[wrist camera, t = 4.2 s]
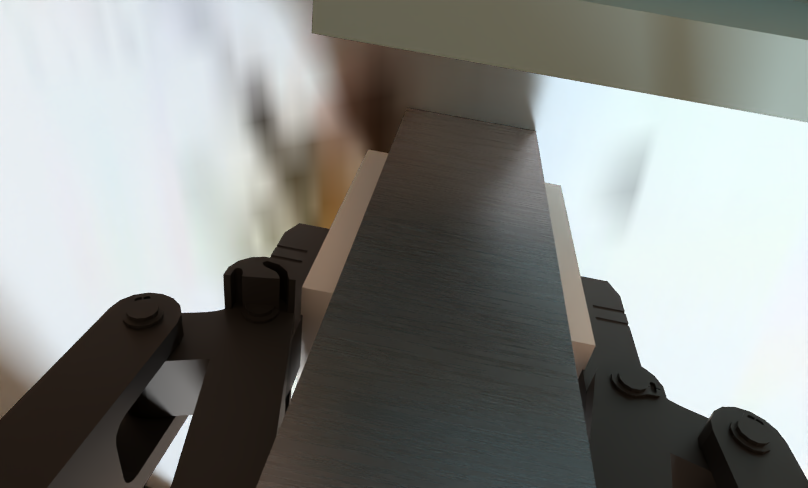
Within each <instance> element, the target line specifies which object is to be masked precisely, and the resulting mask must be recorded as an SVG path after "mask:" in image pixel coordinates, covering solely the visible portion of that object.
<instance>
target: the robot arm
mask: <svg viewBox="0 0 808 488" xmlns="http://www.w3.org/2000/svg"><path fill="white" fill-rule="evenodd" d="M388 154H389V153H384V152H378V151H373V150H368V151H367V153H366V155H365V157H364V159H363V161H362V164H361V166H360V168H359V170H358V172H357V174H356V176H355V178H354V180H353V182H352V184H351V186H350V188H349V191H348V193H347V195H346V197H345V199H344V201H343V203H342V205H341V207H340V209H339V211H338V213H337V215H336V218H335V220H334V222H333V224H332V226H331V228H330V229H326V228H321V227H316V226H311V225H306V224H300V223H299V224H298V225H296V226H294V227H293V228H291V229H290V230H288V231H286V232H285V233H284V235H283V236H282V238H281V240H280V241H279V243H278V245H277V247H276V248H275V250H274V251H273V253H272V254H271V257H270V258H268V257H251V258H247V259H244V260H240V261H238V262H236V263H234V264H233V265H231V266H230V267H228V269H227V270H226V272H225V273H224V275H223V276H224V297H225V309H223V310H219V311H213V312H200V313H181V308H180V305H179V304H178V303H177V302H176V301H175V300H174V299H173V298H171V297H169V296H166V295H164V294H157V293H144V294H137V295H132V296H130V297H127V298H125V299H122V300H120V301H119V302H117V303H116V304H114V305H113V306H112V307H110V308H109V309H108V310H107V311H106V312H105V313H104V314H103V315H102V316H101V317H100V318H99V320H98V321H97V322H96V323H95V324H94V325H93V326H92V327H91V328H90V329H89V330H88V331H87V332H86V333H85V334H84V335H83V336H82V337H81V338H80V339H79V340H78V341H77V342H76V343H75V344H74V345H73V346H72V347H71V348H70V349H69V350H68V351H67V352H66V353H65V354H64V355H63V356H62V357H61V358H60V359H59V360H58V361H57V362H56V363H55V364H54V365H53V366H52V367H51V368H50V369H49V370H48V372H47V373H46V374H45V375H44V376H43V377H42V378H41V379H40V380H39V381H38V382H37V383H36V384H35V385H34V386H33V387H32V388H31V389H30V390H29V391H28V392H27V393H26V394H25V395H24V396H23V397H22V398H21V399H20V400H19V401H18V402H17V403H16V404H15V405H14V406H13V407H12V408H11V409H10V410H9V411H8V412H7V413H6V414H5V415H4V416H3V417H2V418H1V419H0V488H143V487H144V485H145V484H146V482H147V481H148V479H149V477H150V476H151V474H152V473H153V471H154V469H155V468H156V466H157V465H158V463H159V461H160V460H161V458H162V457H163V455H164V454H165V452H166V450H167V449H168V447H169V446H170V444H171V442H172V441H173V439H174V438H175V436H176V435H177V433H178V431H179V430H180V428H181V427H182V425H183V423H184V422H185V420H186V419H187V417H188V415H193V416H192V420H191V423H190V426H189V430H188V433H187V436H186V439H185V443H184V446H183V449H182V453H181V456H180V459H179V463H178V466H177V469H176V472H175V476H174V479H173V482H172V486H171V488H256V486H257V484H258V481H259V479H260V476H261V474H262V471H263V469H264V466H265V464H266V461H267V459H268V456H269V454H270V451H271V449H272V446H273V444H274V441H275V439H276V436H277V433H278V431H279V428H280V426H281V423H282V421H283V418H284V416H285V413H286V411H287V408H288V406H289V403H290V401H291V388H292V385H293V383H294V380H295V378H296V375H297V373H298V378H297V383H298V381H299V378H300V376H301V373H302V370H303V368H304V365H305V363H306V360H307V358H308V355H309V353H310V350H311V348H312V345H313V343H314V340H315V338H316V335H317V333H318V330H319V328H320V325H321V323H322V320H323V318H324V315H325V313H326V310H327V308H328V305H329V302H330V300H331V297H332V295H333V292H334V290H335V287H336V285H337V282H338V280H339V277H340V275H341V272H342V270H343V267H344V265H345V262H346V260H347V257H348V255H349V252H350V250H351V247H352V245H353V242H354V239H355V237H356V234H357V232H358V229H359V227H360V224H361V222H362V219H363V217H364V214H365V212H366V209H367V207H368V204H369V202H370V199H371V197H372V194H373V192H374V189H375V187H376V184H377V182H378V179H379V176H380V174H381V171H382V169H383V166H384V164H385V161H386V159H387V156H388ZM545 188H546V194H547V200H548V206H549V212H550V218H551V224H552V230H553V235H554V241H555V247H556V253H557V259H558V265H559V271H560V277H561V283H562V289H563V295H564V300H565V306H566V312H567V318H568V324H569V330H570V336H571V342H572V348H573V354H574V360H575V365H576V371H577V377H578V383H579V389H580V395H581V401H582V407H583V413H584V419H585V424H586V430H587V436H588V442H589V448H590V454H591V460H592V466H593V472H594V478H595V484H596V488H808V480H807V478H806V476H805V475H804V473H803V471H802V469H801V468H800V466H799V464H798V462H797V460H796V459H795V457H794V455H793V453H792V452H791V450H790V448H789V446H788V444H787V443H786V441H785V440H784V439H783V437H782V436H781V435H780V434H779V432H778V431H777V430H776V429H775V428H774V427H772V426H771V425H770V424H769V423H768V422H766V421H765V420H764V419H762V418H760V417H758V416H757V415H755V414H753V413H751V412H749V411H746V410H743V409H740V408H736V407H721V408H719V409H717V410H715V411H714V412H713V413H712V415H711V416H710V418H706V417H704V416H702V415H700V414H697V413H695V412H693V411H690V410H688V409H686V408H684V407H681V406H679V405H677V404H676V403H674V402H672V401H670V400H668V399H667V398H666V395H665V392H664V388H663V386H662V385H661V384H660V382H659V381H658V380H657V379H656V377H655V376H654V375H652V374H651V373H650V372H648V371H647V370H646V369H644V368H643V367H641V364H640V360H639V357H638V354H637V351H636V347H635V344H634V341H633V337H632V334H631V331H630V328H629V326H628V321H627V318H626V314H624V308H623V304H622V301H621V298H620V296H619V294H618V293H617V292H616V291H615V290H614V289H613V287H612V286H611V285H610V284H609V283H608V281H602V280H597V279H592V278H587V277H582V276H580V272H579V267H578V263H577V258H576V254H575V249H574V244H573V240H572V235H571V231H570V226H569V221H568V217H567V212H566V208H565V203H564V198H563V194H562V189H561V186H560V185H554V184H549V183H545Z"/></svg>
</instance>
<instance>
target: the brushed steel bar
mask: <svg viewBox="0 0 808 488" xmlns="http://www.w3.org/2000/svg"><path fill="white" fill-rule="evenodd" d="M256 488H596V484H595V478H594V472H593V466H592V460H591V454H590V448H589V442H588V436H587V430H586V424H585V419H584V413H583V407H582V401H581V395H580V389H579V383H578V377H577V371H576V365H575V360H574V354H573V348H572V342H571V336H570V330H569V324H568V318H567V312H566V306H565V300H564V295H563V289H562V283H561V277H560V271H559V265H558V259H557V253H556V247H555V241H554V235H553V230H552V224H551V218H550V212H549V206H548V200H547V194H546V188H545V182H544V176H543V171H542V165H541V159H540V153H539V147H538V141H537V135H536V131H532V130H527V129H521V128H516V127H510V126H505V125H499V124H494V123H488V122H483V121H478V120H472V119H467V118H461V117H456V116H450V115H445V114H439V113H434V112H429V111H423V110H418V109H412V108H406V111H405V113H404V116H403V119H402V121H401V124H400V126H399V129H398V131H397V134H396V136H395V139H394V141H393V144H392V146H391V149H390V151H389V154H388V156H387V159H386V161H385V164H384V166H383V169H382V171H381V174H380V176H379V179H378V182H377V184H376V187H375V189H374V192H373V194H372V197H371V199H370V202H369V204H368V207H367V209H366V212H365V214H364V217H363V219H362V222H361V224H360V227H359V229H358V232H357V234H356V237H355V239H354V242H353V245H352V247H351V250H350V252H349V255H348V257H347V260H346V262H345V265H344V267H343V270H342V272H341V275H340V277H339V280H338V282H337V285H336V287H335V290H334V292H333V295H332V297H331V300H330V302H329V305H328V308H327V310H326V313H325V315H324V318H323V320H322V323H321V325H320V328H319V330H318V333H317V335H316V338H315V340H314V343H313V345H312V348H311V350H310V353H309V355H308V358H307V360H306V363H305V365H304V368H303V370H302V373H301V376H300V378H299V381H298V383H297V386H296V388H295V391H294V393H293V396H292V398H291V401H290V403H289V406H288V408H287V411H286V413H285V416H284V418H283V421H282V423H281V426H280V428H279V431H278V433H277V436H276V439H275V441H274V444H273V446H272V449H271V451H270V454H269V456H268V459H267V461H266V464H265V466H264V469H263V471H262V474H261V476H260V479H259V481H258V484H257V486H256Z"/></svg>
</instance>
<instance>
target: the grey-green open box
mask: <svg viewBox="0 0 808 488" xmlns="http://www.w3.org/2000/svg"><path fill="white" fill-rule="evenodd" d="M312 33H314V34H319V35H325V36H330V37H336V38H341V39H347V40H352V41H358V42H364V43H369V44H375V45H380V46H386V47H391V48H397V49H402V50H408V51H414V52H419V53H425V54H430V55H436V56H441V57H447V58H453V59H458V60H464V61H469V62H475V63H480V64H486V65H491V66H497V67H503V68H508V69H514V70H519V71H525V72H530V73H536V74H541V75H547V76H553V77H558V78H564V79H569V80H575V81H580V82H586V83H591V84H597V85H603V86H608V87H614V88H619V89H625V90H630V91H636V92H641V93H647V94H653V95H658V96H664V97H669V98H675V99H680V100H686V101H691V102H697V103H703V104H708V105H714V106H719V107H725V108H730V109H736V110H742V111H747V112H753V113H758V114H764V115H769V116H775V117H780V118H786V119H792V120H797V121H803V122H808V0H313V16H312Z"/></svg>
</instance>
